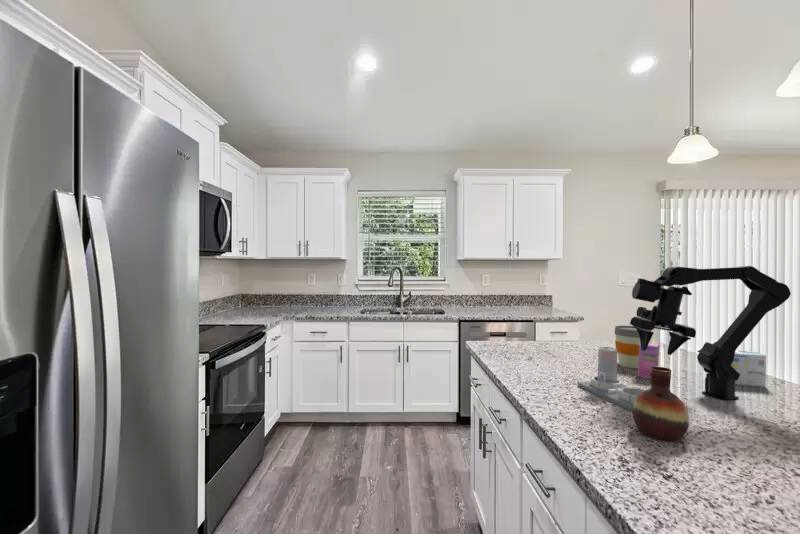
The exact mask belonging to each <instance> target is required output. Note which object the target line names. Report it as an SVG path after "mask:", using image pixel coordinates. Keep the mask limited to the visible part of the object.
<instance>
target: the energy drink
mask: <svg viewBox="0 0 800 534" xmlns="http://www.w3.org/2000/svg"><path fill="white" fill-rule="evenodd" d="M597 351H598V352H597V353H598V354H597V357H598V358H597V376H598V381H600V382H605V383H617V379H618V352H617V349H616V347H615V348H614V347H610V346H600V347H598V350H597Z"/></svg>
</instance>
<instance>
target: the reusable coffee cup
mask: <svg viewBox="0 0 800 534" xmlns="http://www.w3.org/2000/svg"><path fill="white" fill-rule="evenodd" d="M614 335H615V341H614V342H615V349H617V360H618V365H619V366H622V367H625V368H630V369H638V365H639V344H640V337H639V333H638V331H637V330H636V328H634V327H633V325H616V326H615V327H614Z"/></svg>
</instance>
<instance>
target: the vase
mask: <svg viewBox="0 0 800 534" xmlns="http://www.w3.org/2000/svg"><path fill="white" fill-rule="evenodd" d="M650 372H651V379H650V388H648V389H644V390H645V391H643V392H641V393H640V394H639V395H638V396H637V397H636V398H635V400H634V403H633V407H632V411H631V412H632V417H633V421H634V424H635V425H636V427H637V429H638V430H639V431H640V432H641V433H642V434H644V436H648V437H650V438H653V439H656V440H659V441H665V442H676V441H679V440H681V439H682V438H683V437H684V436H685V435H686V434H687V432H688V429H689V426H690V413H689V410H688V408H687V406H686V405H685V403H684V402H683V401H682V400H681V398H680V397H678V396H677V394H675V393H673V392H672V391H671V380H672V369H670V368H668V367H664V366H659V367H657V366H653V367H650Z"/></svg>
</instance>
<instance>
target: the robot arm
mask: <svg viewBox="0 0 800 534" xmlns="http://www.w3.org/2000/svg"><path fill="white" fill-rule="evenodd" d="M723 280H724V281H725V280H727V281H728V280H740V281H742V284H744V285H745V287H746V288H748V289H749V290H750V293H749V295H748V301H747V304H746V306H745V307H744V308H743V309H742V311H741V312H740V313H739V315H738V316H737V317H736V318H735V319H734V320H733V322H732V323H731V324H730V326H728V328H727V329H726V330H725V331H724V333H723V334H722V335H721V336H720V338H719V339H718V340H717V341H716V342H713V343H710V342H708V341H707V342H706V341H705V343H704V344H703V345H702V348H700V349H699V350H697V353H698V354H697V357H696V359H697V362H698V364H699V365H700V366H701V367H702V368H703V371H704V372H705V373H706V375H705V376H706V377H705V378H704V390H703V391H701V393H702V394H704V395H707V396H709V397H713V398H716V399H719V400H721V401H727V400H739V399H740V397H739V396H737V395H735V394H736V384H735V381H737V380H738V378H739V376H740V374H739V373H738V372H737V371H736V370H735V369H734V368H733V367H732V366H731V365H732V363H733V361H734V356H735V351H737V349H738V348H739V346H740V345H741V344H742V343H743V342H744V340H746V338H747V337H748V336H749V335H750V334H751V332H752V331H753V330H754V329H755V327H756V326H757V325H758V324H759V323H760V322H761V320H762V319H763V318H764V317H765V315H766V314H767V313H768V312H771V311H772V310H774V309H776V308H778V307H780V306H782V305H783V303H785V302H786V301H787V300H788V299H789V298H790V297H791V295H792V294H791V293H792V292H791V289H790V287H789V286H788V285H787V284H786V283H783V282H778V281H777V280H776V279H774V278H773V277H771V276H770V275H768V274H765V273H763V272H762V271H760V270H759V269H758V268H756V267H754V266H752V265H740V266H733V267H732V266H731V267H714V268H712V267H711V268H694V267H686V266H668V267H666V268H665V269H664V270H663V271H662V275H660V276H659V277H657V278H656V279H655V280H648V279H644V278H637V282H635V284H634V286H633V287H632V291H631V297H632V299H634V300H639V301H643V302H644V301H645V302H649V303H655V302H656V301H657V305H654V306H653V307H652V309H648V308H647V307H644V306H638V307H637V309H636V316H633V317H631V318H630V321H629V325H630V326H633V327H634V328H636V330H637V331H638V333H639V337H640V343H641V350H643V351H645V350H646V348H647V346H648V344H649V342H650V341H652V337H653V335H654V334H655V333H654V331H653V330H656V329H657V330H662V331H668V335H669V337H670V339H669V343H668V347H667V355H669V356H671V355H673V354H674V353H675V351H677V350H678V349H679V348H680V347H681V346H682V345H683V344H685V343H686V342H687V341H689V340H692V339H691V338H693V339H694V338H696V335H697V331H696V329H695V328H694V327H692V326H688V325H685V324H680V323H677V319H678V316H682V314H683V312H682V311H680V307H681V304H682V300H683V297H684V296H683V295H686V296H692V295H693V293H692V292H691V291H690V290H689V288H688V286H686V285H690V284H694V283H698V282H703V281H723ZM677 286H681V287H677ZM663 287H668V288H663Z"/></svg>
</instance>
